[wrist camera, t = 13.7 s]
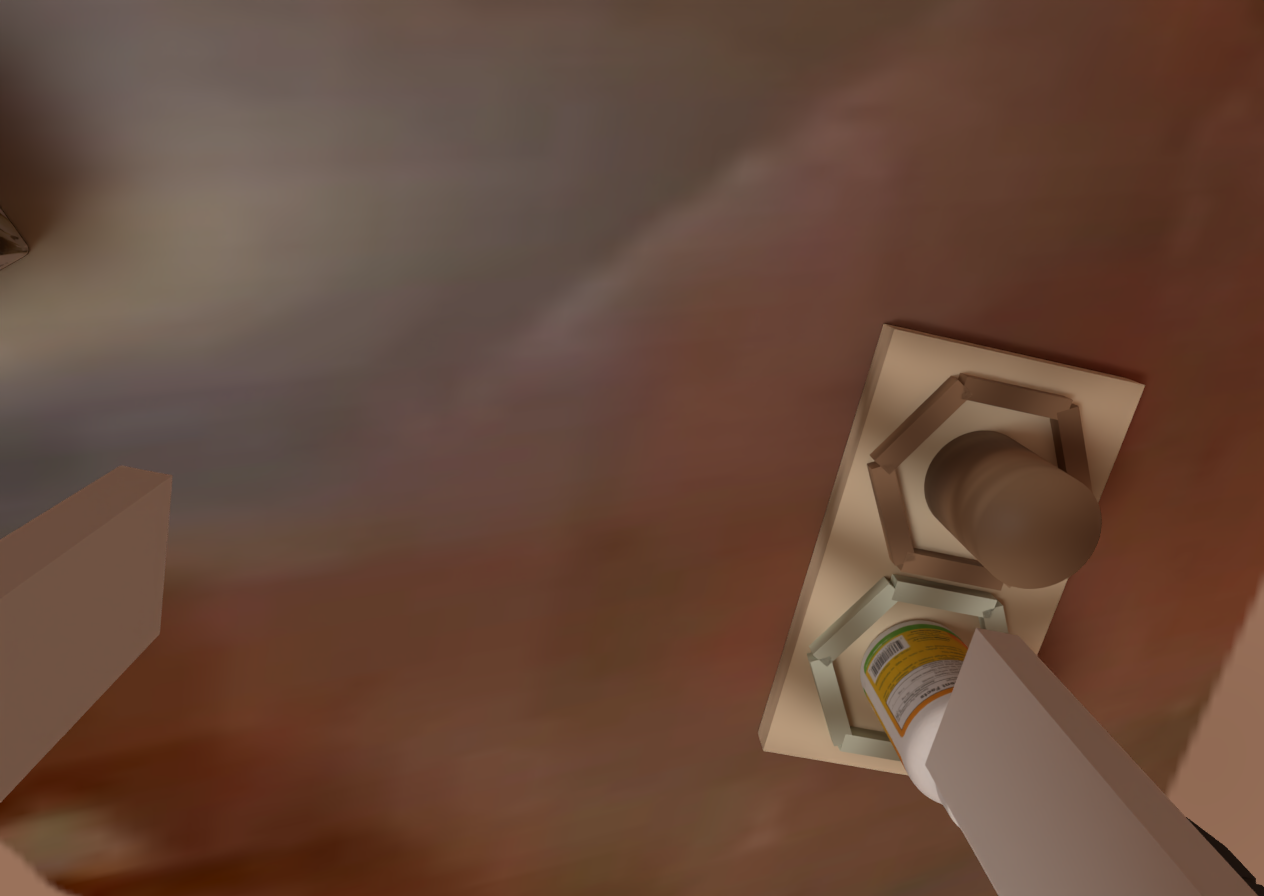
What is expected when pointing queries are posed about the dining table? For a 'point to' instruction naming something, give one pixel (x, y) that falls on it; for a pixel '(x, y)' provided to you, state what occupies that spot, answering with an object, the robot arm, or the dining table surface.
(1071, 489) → the walnut dowel stub
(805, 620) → the board
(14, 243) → the coffee box
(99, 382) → the dining table surface
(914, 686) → the supplement bottle
